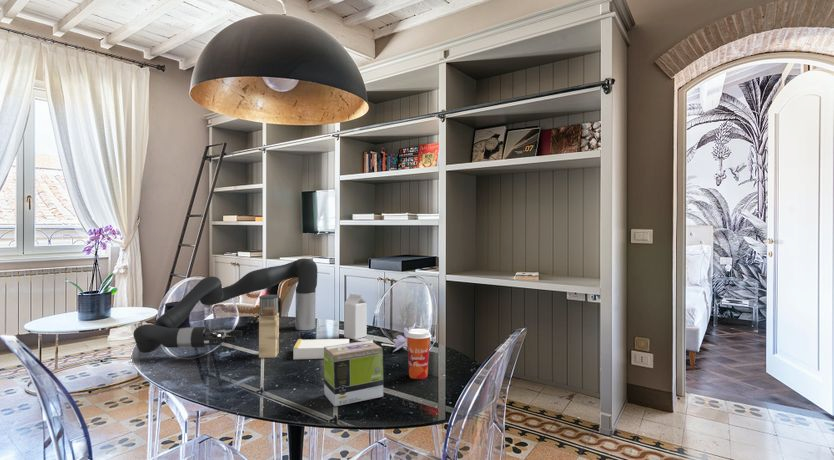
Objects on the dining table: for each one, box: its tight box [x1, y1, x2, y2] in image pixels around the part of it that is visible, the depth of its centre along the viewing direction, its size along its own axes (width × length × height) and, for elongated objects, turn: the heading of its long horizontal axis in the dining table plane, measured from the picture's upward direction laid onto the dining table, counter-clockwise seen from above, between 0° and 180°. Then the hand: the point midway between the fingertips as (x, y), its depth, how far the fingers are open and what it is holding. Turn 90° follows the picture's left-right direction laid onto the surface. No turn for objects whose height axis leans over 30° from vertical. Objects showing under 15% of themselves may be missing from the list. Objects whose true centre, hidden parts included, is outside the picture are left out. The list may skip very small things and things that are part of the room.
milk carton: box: [343, 293, 368, 340], centre depth 195 cm, size 7×7×19 cm
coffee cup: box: [406, 328, 432, 380], centre depth 146 cm, size 8×8×15 cm
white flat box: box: [292, 338, 350, 360], centre depth 170 cm, size 12×20×4 cm, turn 97°
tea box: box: [323, 340, 384, 407], centre depth 129 cm, size 15×10×15 cm
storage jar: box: [164, 300, 191, 328], centre depth 192 cm, size 10×10×15 cm
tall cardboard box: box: [258, 313, 280, 359], centre depth 168 cm, size 6×6×16 cm
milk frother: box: [248, 294, 282, 325], centre depth 216 cm, size 14×16×15 cm
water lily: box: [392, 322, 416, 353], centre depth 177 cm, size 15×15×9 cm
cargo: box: [262, 307, 276, 316], centre depth 168 cm, size 4×4×4 cm
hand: (238, 336), depth 166 cm, fingers open, 8 cm apart
